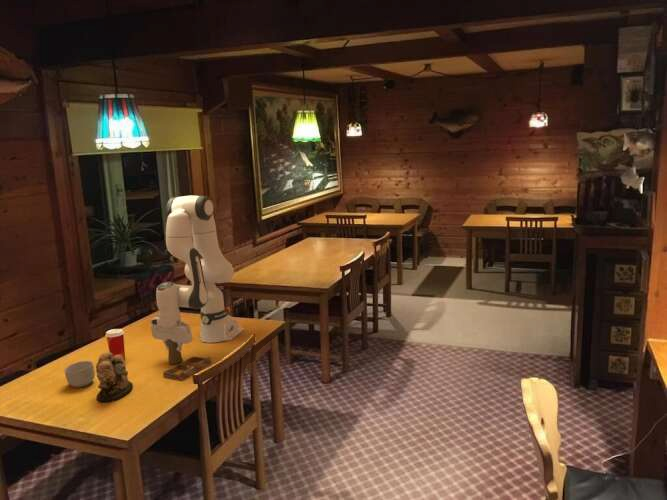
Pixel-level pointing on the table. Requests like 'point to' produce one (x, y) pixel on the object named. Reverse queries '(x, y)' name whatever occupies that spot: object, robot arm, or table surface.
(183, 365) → the wooden divided frame
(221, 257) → the robot arm
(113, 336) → the paper cup
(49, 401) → the table surface
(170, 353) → the cork
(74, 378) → the teacup
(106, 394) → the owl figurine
